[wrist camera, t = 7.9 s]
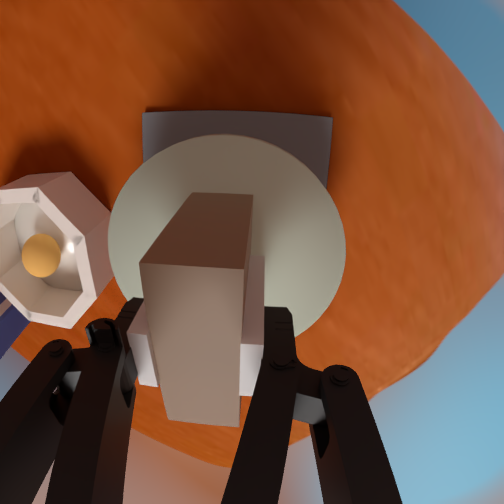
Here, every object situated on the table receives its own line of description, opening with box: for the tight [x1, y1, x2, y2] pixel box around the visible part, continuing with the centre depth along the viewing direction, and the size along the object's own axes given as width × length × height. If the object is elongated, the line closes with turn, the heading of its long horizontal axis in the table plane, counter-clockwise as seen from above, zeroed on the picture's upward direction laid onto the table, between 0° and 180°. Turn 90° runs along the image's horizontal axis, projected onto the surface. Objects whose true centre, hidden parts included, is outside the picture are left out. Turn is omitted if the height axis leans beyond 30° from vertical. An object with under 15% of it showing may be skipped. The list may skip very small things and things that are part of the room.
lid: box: [108, 134, 346, 427], centre depth 15 cm, size 14×14×9 cm
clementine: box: [22, 234, 61, 278], centre depth 25 cm, size 4×4×4 cm
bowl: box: [0, 172, 114, 329], centre depth 25 cm, size 13×13×5 cm
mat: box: [142, 110, 333, 189], centre depth 25 cm, size 16×14×1 cm
